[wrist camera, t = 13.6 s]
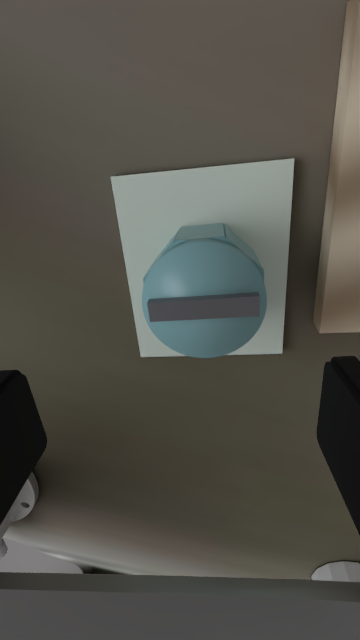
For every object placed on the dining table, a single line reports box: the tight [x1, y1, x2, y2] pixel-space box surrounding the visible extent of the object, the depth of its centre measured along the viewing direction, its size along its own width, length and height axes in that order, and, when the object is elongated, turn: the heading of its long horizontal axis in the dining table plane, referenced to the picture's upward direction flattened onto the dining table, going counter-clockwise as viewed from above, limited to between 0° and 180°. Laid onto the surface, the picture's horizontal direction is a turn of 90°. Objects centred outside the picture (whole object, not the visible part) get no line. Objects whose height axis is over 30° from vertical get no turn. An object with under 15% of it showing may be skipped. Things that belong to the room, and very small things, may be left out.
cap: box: [142, 223, 267, 358], centre depth 17 cm, size 6×6×6 cm
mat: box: [111, 158, 294, 357], centre depth 20 cm, size 12×10×1 cm
